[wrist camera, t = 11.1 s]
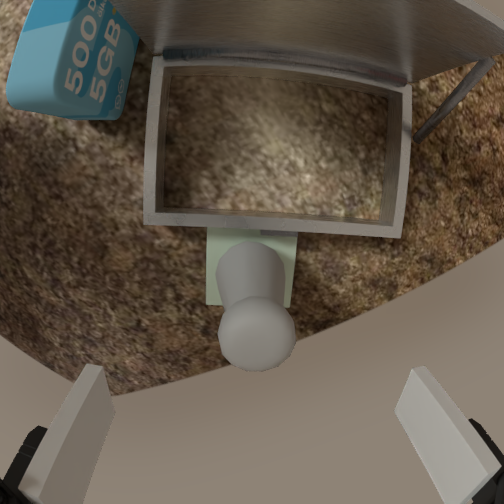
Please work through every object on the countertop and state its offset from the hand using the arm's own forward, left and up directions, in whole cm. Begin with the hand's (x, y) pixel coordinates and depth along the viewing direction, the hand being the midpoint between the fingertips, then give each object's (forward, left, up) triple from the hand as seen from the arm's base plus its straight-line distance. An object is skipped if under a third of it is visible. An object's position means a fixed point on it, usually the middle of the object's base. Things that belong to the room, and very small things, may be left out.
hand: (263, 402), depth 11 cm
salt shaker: (0, 0, -18) cm, 18 cm away
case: (+2, +11, -18) cm, 21 cm away
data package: (-14, +19, -18) cm, 29 cm away
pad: (0, 0, -18) cm, 18 cm away
